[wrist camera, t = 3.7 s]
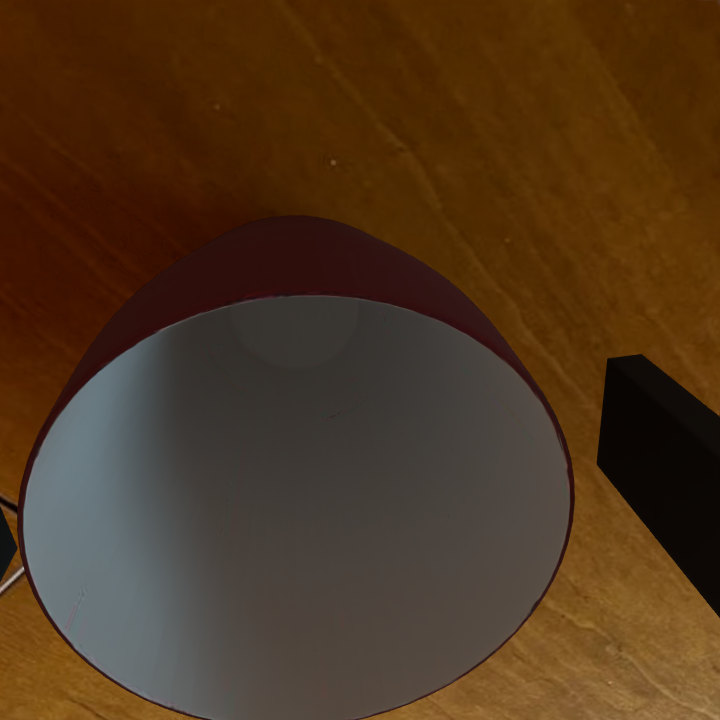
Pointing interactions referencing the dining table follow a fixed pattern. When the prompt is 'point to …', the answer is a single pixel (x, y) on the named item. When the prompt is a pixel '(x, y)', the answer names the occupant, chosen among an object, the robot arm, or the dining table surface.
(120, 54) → the dining table surface
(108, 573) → the mug
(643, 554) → the dining table surface
